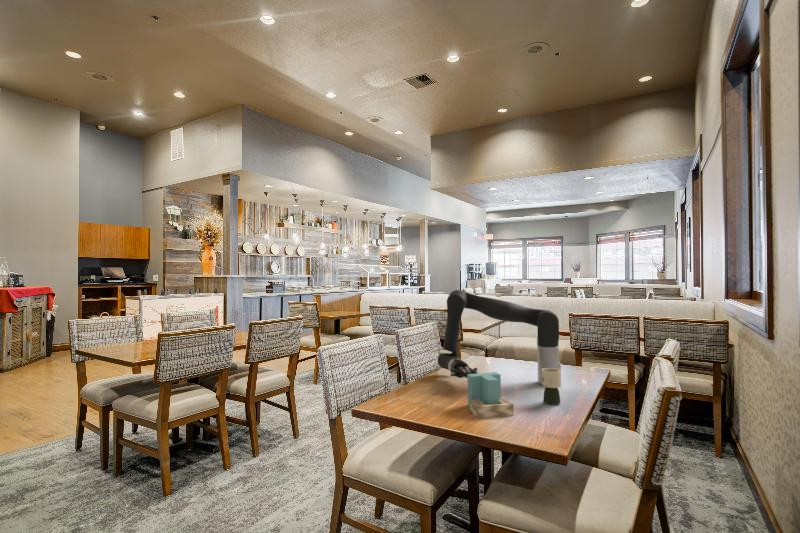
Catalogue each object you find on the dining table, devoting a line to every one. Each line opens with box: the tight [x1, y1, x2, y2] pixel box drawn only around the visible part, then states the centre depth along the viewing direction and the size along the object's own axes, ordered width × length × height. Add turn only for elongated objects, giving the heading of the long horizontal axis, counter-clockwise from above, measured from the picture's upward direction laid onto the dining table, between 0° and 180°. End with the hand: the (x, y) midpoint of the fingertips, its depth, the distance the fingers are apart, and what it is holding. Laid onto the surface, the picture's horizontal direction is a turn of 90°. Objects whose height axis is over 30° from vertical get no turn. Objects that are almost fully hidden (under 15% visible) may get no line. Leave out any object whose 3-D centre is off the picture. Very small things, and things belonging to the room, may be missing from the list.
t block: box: [467, 372, 502, 407], centre depth 161 cm, size 12×11×12 cm
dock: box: [469, 396, 515, 419], centre depth 156 cm, size 14×8×4 cm, turn 100°
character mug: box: [541, 368, 562, 405], centre depth 166 cm, size 11×7×13 cm, turn 145°
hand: (470, 376), depth 179 cm, fingers closed
